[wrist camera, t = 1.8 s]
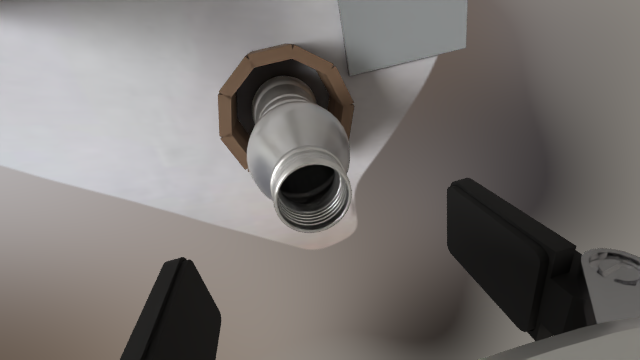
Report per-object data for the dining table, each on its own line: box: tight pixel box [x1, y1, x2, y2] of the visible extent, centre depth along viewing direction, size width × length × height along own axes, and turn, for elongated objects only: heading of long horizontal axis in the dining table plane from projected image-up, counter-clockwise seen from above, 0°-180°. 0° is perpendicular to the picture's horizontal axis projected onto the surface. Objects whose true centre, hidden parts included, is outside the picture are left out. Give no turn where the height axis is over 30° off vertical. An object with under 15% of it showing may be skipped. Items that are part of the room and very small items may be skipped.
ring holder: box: [218, 44, 354, 172], centre depth 28 cm, size 12×12×6 cm
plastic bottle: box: [247, 76, 352, 233], centre depth 22 cm, size 6×7×20 cm
